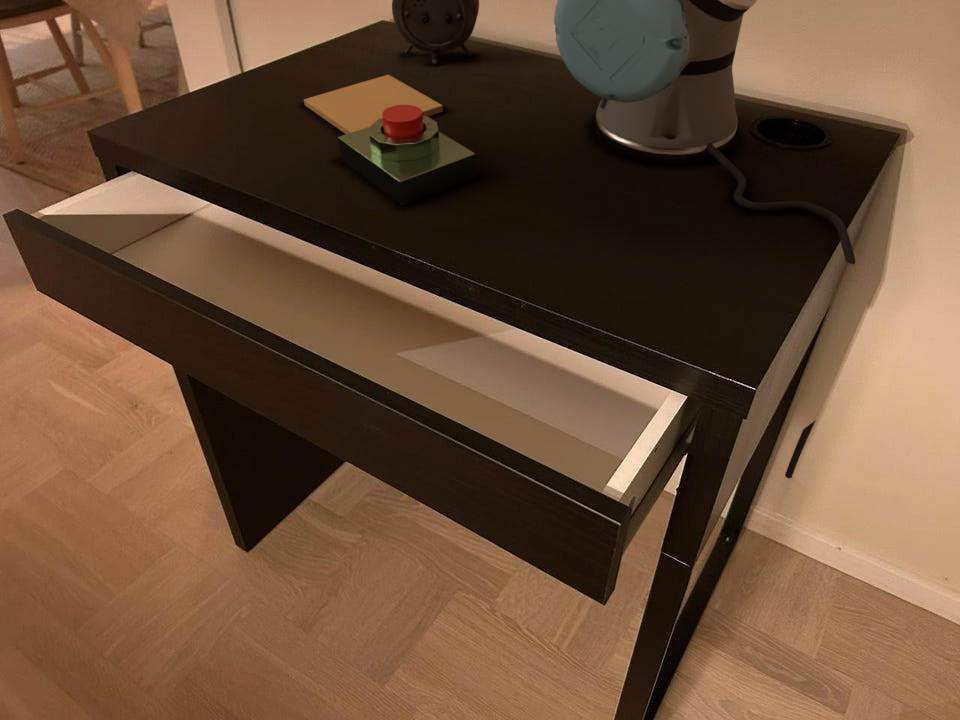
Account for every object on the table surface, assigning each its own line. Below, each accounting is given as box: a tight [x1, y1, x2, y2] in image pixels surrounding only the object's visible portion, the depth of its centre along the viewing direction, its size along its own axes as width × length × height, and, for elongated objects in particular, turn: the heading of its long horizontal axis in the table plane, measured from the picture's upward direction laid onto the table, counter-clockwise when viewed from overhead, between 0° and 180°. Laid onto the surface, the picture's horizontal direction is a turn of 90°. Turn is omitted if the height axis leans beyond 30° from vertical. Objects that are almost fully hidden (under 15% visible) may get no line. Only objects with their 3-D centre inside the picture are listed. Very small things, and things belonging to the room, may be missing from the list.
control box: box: [337, 116, 477, 207], centre depth 77 cm, size 12×9×4 cm
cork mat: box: [303, 74, 444, 135], centre depth 89 cm, size 12×12×1 cm
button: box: [382, 105, 424, 139], centre depth 75 cm, size 4×4×2 cm
